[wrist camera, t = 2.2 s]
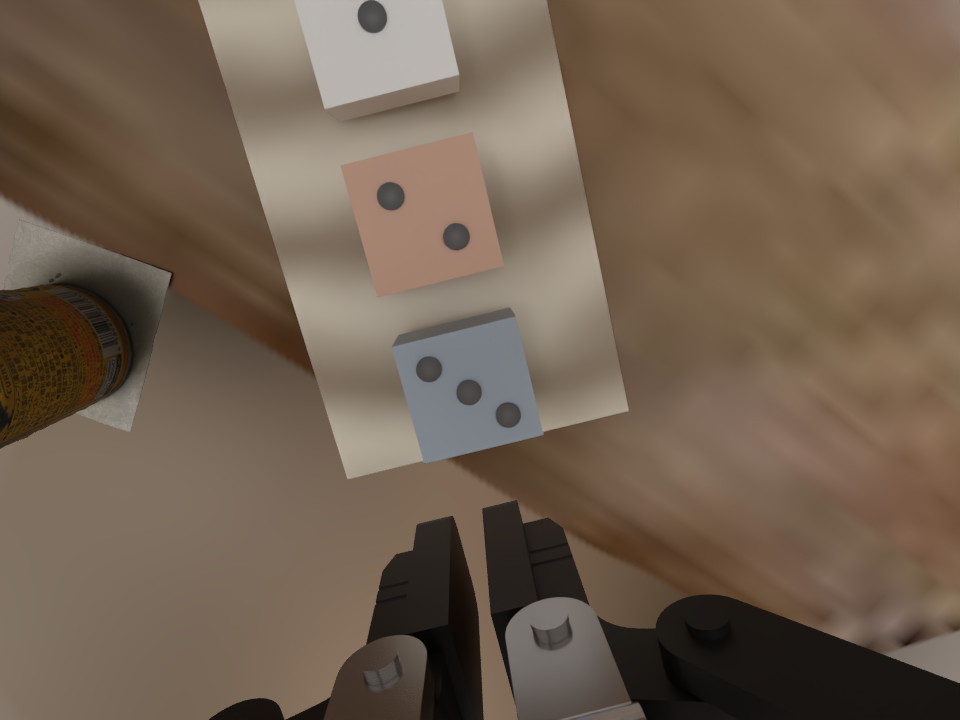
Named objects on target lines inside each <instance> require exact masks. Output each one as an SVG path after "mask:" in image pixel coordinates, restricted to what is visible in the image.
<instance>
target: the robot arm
mask: <svg viewBox="0 0 960 720" xmlns="http://www.w3.org/2000/svg"><path fill="white" fill-rule="evenodd" d="M482 510H483V524H484V535H485V548H486V560H487V573H488V586H489V597H490V610H491V617H492V620H493V624H494V628H495V631H496V635H497V639H498V642H499V646H500V650H501V654H502V657H503V660H504V664H505V668H506V672H507V676H508V679H509V683H510V687H511V690H512V694H513V697H514V701H515V705H516V710H517V717H518V720H960V683H957V682H955V681H952V680H949V679H947V678H944V677H941V676H939V675H936V674H933V673H931V672H928V671H925V670H922V669H920V668H917V667H915V666H912V665H909V664H906V663H904V662H901V661H899V660H896V659H893V658H891V657H888V656H885V655H883V654H880V653H877V652H875V651H872V650H869V649H867V648H864V647H861V646H859V645H856V644H853V643H851V642H848V641H845V640H843V639H840V638H838V637H835V636H832V635H830V634H827V633H824V632H822V631H819V630H816V629H814V628H811V627H808V626H806V625H803V624H800V623H798V622H795V621H792V620H790V619H787V618H784V617H782V616H779V615H776V614H774V613H771V612H768V611H766V610H763V609H760V608H758V607H755V606H752V605H750V604H747V603H744V602H742V601H739V600H736V599H733V598H730V597H726V596H721V595H696V596H691V597H687V598H683V599H681V600H678V601H676V602H674V603H673V604H671V605H669V606H668V607H667V608H666V609H664V611H663V612H662V613H661V614H660V616H659V617H658V620H657V623H656V629H637V628H626V627H620V626H617V625H613V624H611V623H609V622H606V621H604V620H603V619H601V618H600V617H598V616H597V615H596V613H595V612H594V610H593V609H592V608H591V607H590V605H589V603H588V600H587V597H586V594H585V591H584V588H583V585H582V582H581V579H580V576H579V574H578V571H577V568H576V565H575V562H574V559H573V557H572V554H571V551H570V547H569V545H568V542H567V539H566V536H565V533H564V530H563V528H562V527H561V526H559V525H558V524H557V523H555V522H554V521H552V520H551V519H549V518H545V519H541V520H537V521H533V522H529V523H524V524H523V522H522V518H521V514H520V510H519V506H518V502H517V500H515V501H511V502H507V503H503V504H499V505H495V506H490V507H486V508H483V509H482ZM480 658H481V657H480V636H479V616H478V608H477V602H476V597H475V592H474V588H473V584H472V580H471V576H470V573H469V569H468V566H467V562H466V558H465V555H464V551H463V547H462V544H461V540H460V537H459V533H458V529H457V526H456V523H455V520H454V518H453V516H449V517H445V518H441V519H437V520H433V521H429V522H424V523H420V524H417V527H416V534H415V540H414V548H413V550H412V551H408V552H404V553H400V554H396V555H395V556H394V558H393V559H392V560H391V561H390V563H389V564H388V565H387V566H386V568H385V569H384V570H383V572H382V577H381V581H380V585H379V591H378V594H377V599H376V605H375V608H374V613H373V617H372V621H371V626H370V630H369V635H368V639H367V643H366V645H365V646H364V647H362V648H360V649H359V650H358V651H356V652H355V653H354V654H352V656H350V657H349V658H348V659H347V660H346V662H345V663H344V664H343V666H342V667H341V669H340V670H339V672H338V675H337V677H336V680H335V684H334V687H333V691H332V694H331V697H330V698H328V699H327V700H325V701H323V702H321V703H320V704H317V705H315V706H313V707H311V708H309V709H307V710H305V711H303V712H301V713H299V714H297V715H295V716H292V717H290V718H288V719H286V720H484V719H483V698H482V678H481V659H480ZM209 720H284V717H283V714H282V712H281V709H280V707H279V705H278V704H277V703H276V702H274V701H272V700H269V699H264V698H257V699H250V700H245V701H242V702H240V703H236V704H234V705H232V706H230V707H228V708H226V709H224V710H222V711H221V712H219V713H217V714H216V715H215V716H213V717H211V718H210V719H209Z"/></svg>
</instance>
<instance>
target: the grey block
mask: <svg viewBox="0 0 960 720" xmlns="http://www.w3.org/2000/svg"><path fill="white" fill-rule="evenodd" d="M392 351H393V354H394V358H395V361H396V365H397V369H398V372H399V376H400V379H401V383H402V386H403V390H404V393H405V397H406V401H407V404H408V408H409V411H410V415H411V418H412V422H413V425H414V429H415V433H416V436H417V440H418V443H419V447H420V450H421V454H422V458H423V461H424V464H426V463H430V462H434V461H438V460H443V459H447V458H451V457H455V456H459V455H463V454H467V453H471V452H475V451H480V450H484V449H488V448H492V447H496V446H500V445H504V444H508V443H512V442H517V441H521V440H525V439H529V438H533V437H537V436H541V435H543V430H542V426H541V422H540V418H539V413H538V409H537V405H536V401H535V396H534V392H533V388H532V383H531V379H530V375H529V371H528V366H527V362H526V358H525V353H524V349H523V345H522V341H521V336H520V332H519V328H518V323H517V319H516V316H515V314H514V313H513V311H512V310H511V308H505V309H501V310H497V311H493V312H489V313H485V314H481V315H477V316H473V317H469V318H465V319H461V320H457V321H453V322H449V323H445V324H441V325H437V326H433V327H429V328H425V329H421V330H417V331H412V332H408V333H404V334H400V335H398V337H397V338H396V340H395V342H394V344H393V345H392Z"/></svg>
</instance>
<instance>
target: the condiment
mask: <svg viewBox="0 0 960 720" xmlns="http://www.w3.org/2000/svg"><path fill="white" fill-rule="evenodd" d="M171 274H172V273H169V272H167V271H164V270H161V269H158V268H155V267H154V266H151V265H148V264H145V263H142V262H140V261H137V260H134V259H131V258H128V257H125V256H123V255H121V254H118V253H115V252H112V251H109V250H106V249H103V248H100V247H98V246H95V245H92V244H89V243H87V242H85V241H81V240H78V239H74V238H71V237H68V236H66V235H63V234H60V233H57V232H55V231H52V230H49V229H46V228H43V227H40V226H37V225H34V224H31V223H28V222H25V221H22V220H19V221H18V225H17V230H16V232H15V237H14V243H13V249H12V254H11V256H10V259H9V268H8V273H7V276H6V279H5V287H4V290H0V449H1V448H2V447H4V446H6V445H9V444H11V443H13V442H16V441H19V440H21V439H24V438H27V437H28V436H30V435H31V434H33V433H34V432H36V431H38V430H42V429H43V428H46V427H47V426H49V425H51V424H54V423H56V422H58V421H60V420H62V419H64V418H66V417H68V416H71V415H73V414H78V415H80V416H83V417H86V418H89V419H91V420H94V421H97V422H100V423H102V424H106V425H109V426H112V427H115V428H118V429H121V430H124V431H128V432H130V431H131V428H132V424H133V420H134V416H135V413H136V409H137V406H138V403H139V399H140V395H141V390H142V388H143V385H144V381H145V377H146V372H147V368H148V365H149V361H150V356H151V353H152V348H153V342H154V338H155V335H156V332H157V329H158V325H159V321H160V318H161V314H162V310H163V306H164V301H165V295H166V291H167V288H168V285H169V281H170V277H171Z"/></svg>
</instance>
